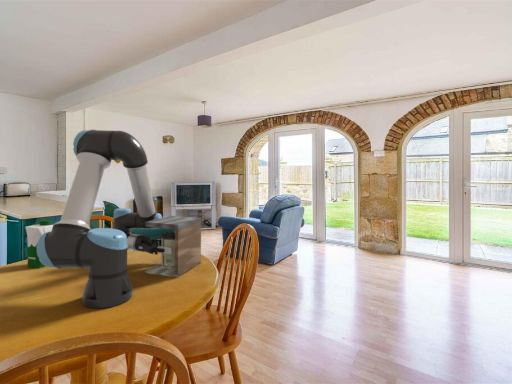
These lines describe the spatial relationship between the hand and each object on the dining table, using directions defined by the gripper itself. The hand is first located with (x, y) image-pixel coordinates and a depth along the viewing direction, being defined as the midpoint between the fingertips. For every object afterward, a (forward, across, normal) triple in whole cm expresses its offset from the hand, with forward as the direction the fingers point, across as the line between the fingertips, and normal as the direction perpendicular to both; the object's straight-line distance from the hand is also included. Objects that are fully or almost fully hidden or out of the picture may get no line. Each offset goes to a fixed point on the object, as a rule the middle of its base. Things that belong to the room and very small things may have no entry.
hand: (179, 247), depth 127 cm
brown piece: (-3, 0, -10) cm, 10 cm away
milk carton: (-60, +18, -10) cm, 63 cm away
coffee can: (-4, 0, -9) cm, 10 cm away
